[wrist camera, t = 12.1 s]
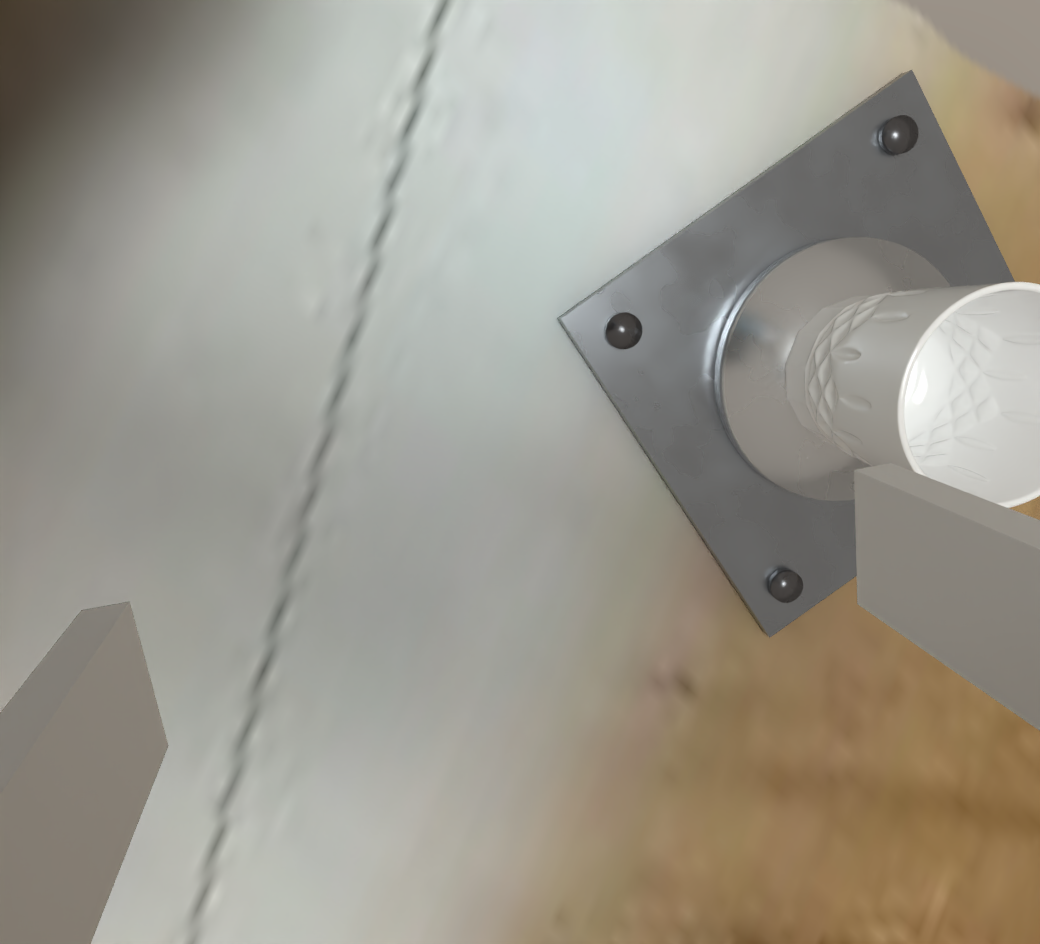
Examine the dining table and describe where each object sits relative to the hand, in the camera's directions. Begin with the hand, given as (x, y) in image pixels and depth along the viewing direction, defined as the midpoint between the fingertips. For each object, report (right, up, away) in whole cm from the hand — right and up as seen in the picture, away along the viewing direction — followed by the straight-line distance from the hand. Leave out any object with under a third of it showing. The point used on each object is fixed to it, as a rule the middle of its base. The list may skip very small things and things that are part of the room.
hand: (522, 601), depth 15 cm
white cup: (+15, +7, +24) cm, 29 cm away
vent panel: (+15, +7, +26) cm, 30 cm away
